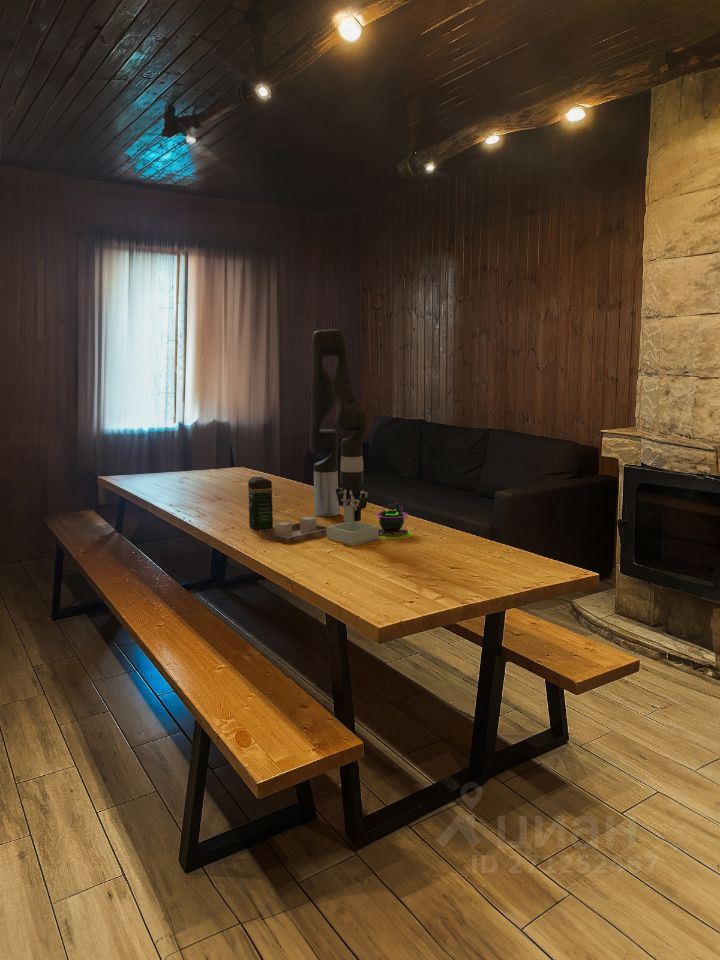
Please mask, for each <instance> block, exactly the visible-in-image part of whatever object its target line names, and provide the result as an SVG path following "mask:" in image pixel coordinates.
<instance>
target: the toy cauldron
mask: <svg viewBox="0 0 720 960" xmlns="http://www.w3.org/2000/svg"><path fill="white" fill-rule="evenodd" d="M396 504H398V502H396ZM390 506H394V507H395V504H394V505H393V504H389V507H390ZM383 507H384V506H383V505H382V506H380V509H382V508H383ZM399 507H401V510H403V508H404V507H402V505H401V506H400V505H399ZM401 510H397V509H396V508H394V510H392V509H389V510H388V509H385V510H383V511H379V512H378V511H377V512H376V513H375V516H376V517H378V523H379V526H380V527H381V528H380V529H379V528H378V534H379V539H381V540H402V539H408V538H412V537H413V536H414V532H412V531H410V530H408V529H406V528H404V529H403V526H404V524H405V519H408V516H409V513H407V512H404V511H401Z"/></svg>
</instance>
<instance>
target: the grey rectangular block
mask: <svg viewBox="0 0 720 960" xmlns="http://www.w3.org/2000/svg"><path fill="white" fill-rule="evenodd" d="M299 523H300V533H304V534H305V533H309V532H313V531H316V525H317V517H313V516H303V517H301V518H299Z"/></svg>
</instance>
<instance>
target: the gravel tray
mask: <svg viewBox="0 0 720 960" xmlns="http://www.w3.org/2000/svg"><path fill="white" fill-rule="evenodd" d="M324 536H327V526H325V525H320V524H316V531H313V532H309V533H305V534H304V533H300V522H297V523H292V537H285V536H281V535H277V534H275V527H273V528H271V529H266V530H259V537H260V538H263V539H267V540H270V541H274V542H279V543H283V544H286V545H290V544H295V543H299V542H303V541H307V540H312V539H315V538H320V537H324Z"/></svg>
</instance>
